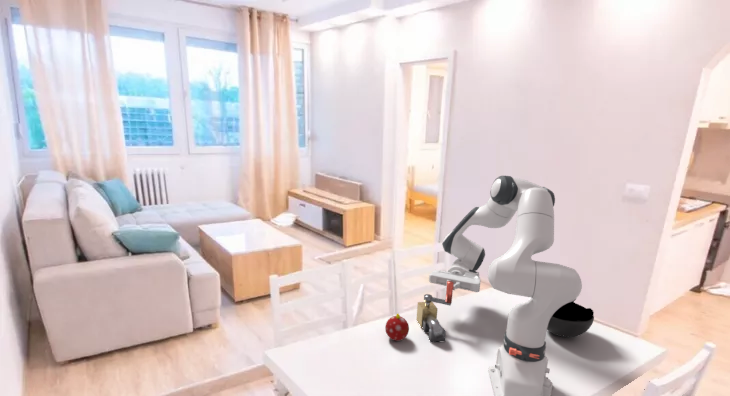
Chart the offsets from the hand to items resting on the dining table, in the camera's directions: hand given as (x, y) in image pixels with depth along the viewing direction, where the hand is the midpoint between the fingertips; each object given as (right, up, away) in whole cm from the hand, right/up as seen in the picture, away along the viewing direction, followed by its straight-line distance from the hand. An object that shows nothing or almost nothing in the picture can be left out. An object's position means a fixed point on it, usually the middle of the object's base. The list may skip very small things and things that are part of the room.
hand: (450, 287), depth 146 cm
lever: (-5, -6, +1) cm, 8 cm away
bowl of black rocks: (+43, -18, +2) cm, 47 cm away
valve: (-8, -16, -1) cm, 18 cm away
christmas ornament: (-22, -17, -7) cm, 28 cm away
